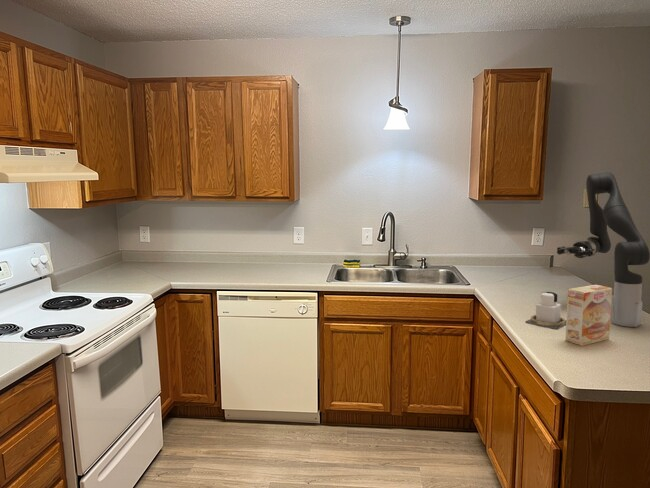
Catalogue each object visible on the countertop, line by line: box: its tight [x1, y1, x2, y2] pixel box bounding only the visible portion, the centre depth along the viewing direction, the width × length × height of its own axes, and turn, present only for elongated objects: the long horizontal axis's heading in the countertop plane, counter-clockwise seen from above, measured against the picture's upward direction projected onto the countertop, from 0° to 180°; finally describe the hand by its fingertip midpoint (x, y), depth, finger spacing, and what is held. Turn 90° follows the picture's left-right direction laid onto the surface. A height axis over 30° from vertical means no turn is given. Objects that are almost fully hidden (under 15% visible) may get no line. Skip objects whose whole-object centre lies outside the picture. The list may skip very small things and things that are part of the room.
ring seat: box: [525, 314, 567, 330], centre depth 193 cm, size 13×13×2 cm
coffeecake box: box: [565, 284, 614, 347], centre depth 171 cm, size 15×7×20 cm, turn 114°
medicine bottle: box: [535, 291, 562, 323], centre depth 192 cm, size 7×7×12 cm
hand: (568, 253), depth 205 cm, fingers open, 8 cm apart
